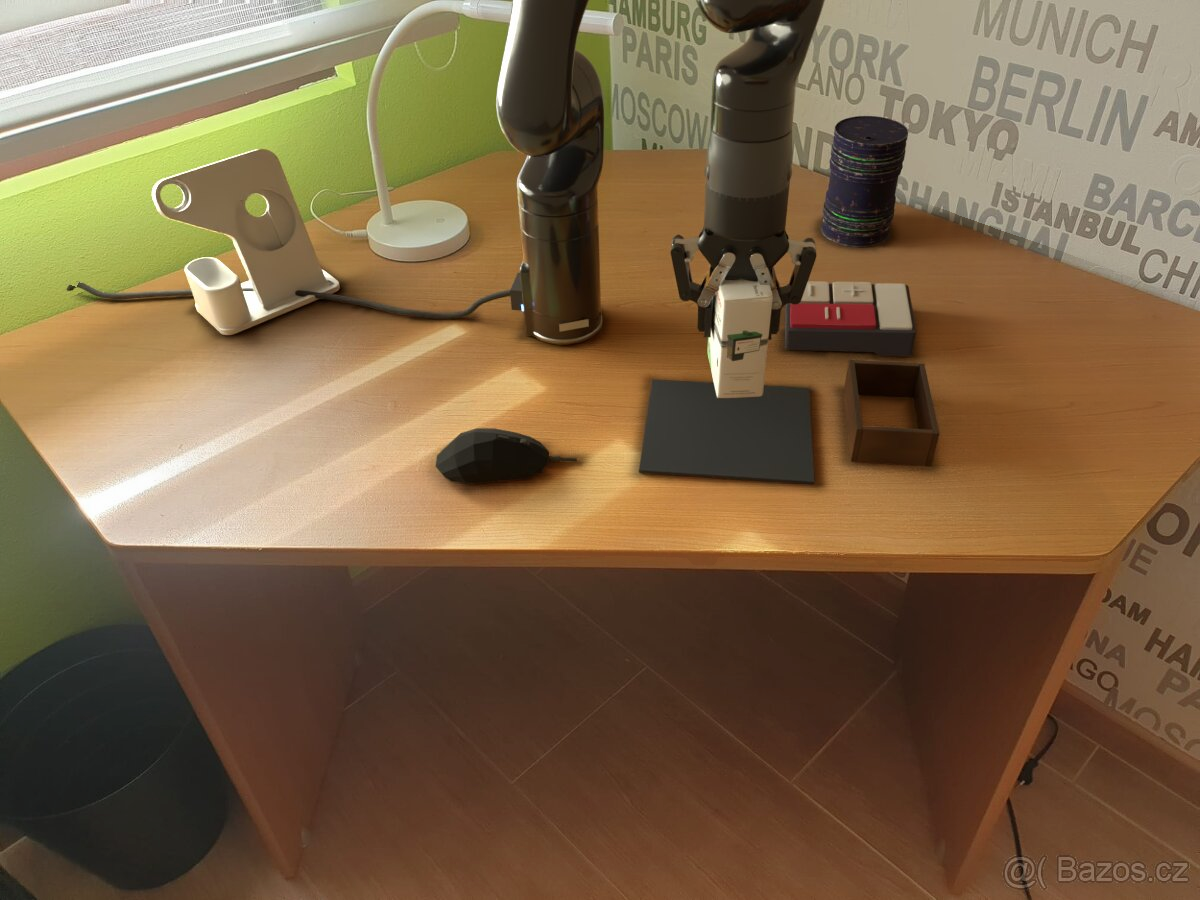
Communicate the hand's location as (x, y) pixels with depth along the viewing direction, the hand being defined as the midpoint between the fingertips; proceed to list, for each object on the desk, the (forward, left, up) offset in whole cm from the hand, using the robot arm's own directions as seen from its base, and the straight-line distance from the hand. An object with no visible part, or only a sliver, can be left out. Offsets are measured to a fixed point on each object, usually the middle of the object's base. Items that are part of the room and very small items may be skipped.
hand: (737, 333), depth 97 cm
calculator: (+14, +21, -13) cm, 28 cm away
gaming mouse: (-23, -8, -13) cm, 28 cm away
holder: (+17, +2, -12) cm, 21 cm away
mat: (0, 0, -12) cm, 12 cm away
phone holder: (-62, +22, -13) cm, 67 cm away
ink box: (0, 0, -5) cm, 5 cm away
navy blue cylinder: (+17, +47, -13) cm, 51 cm away
